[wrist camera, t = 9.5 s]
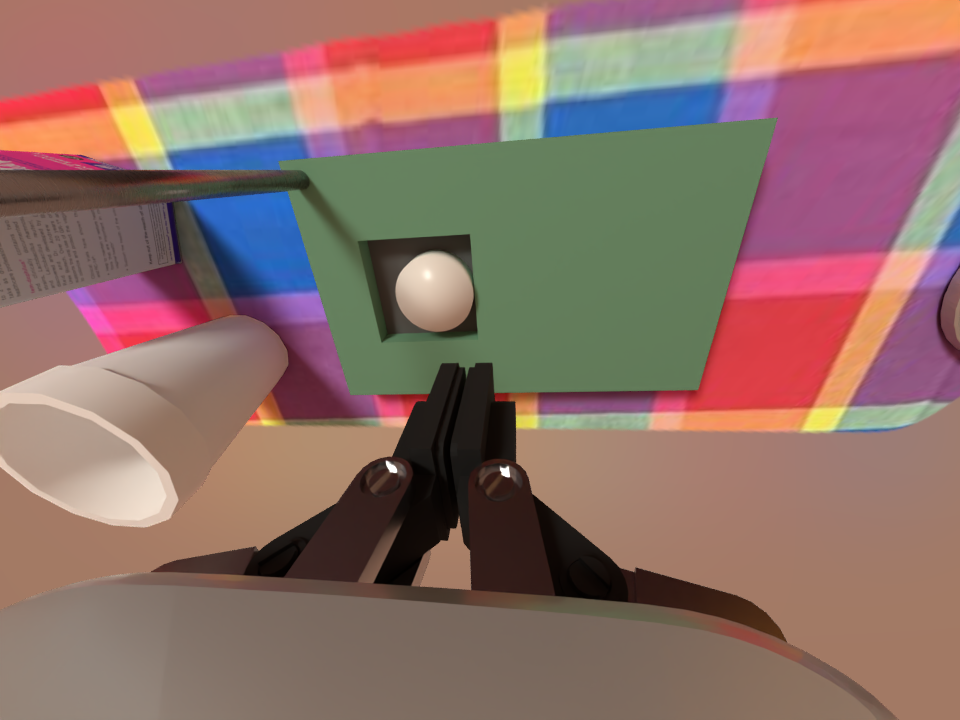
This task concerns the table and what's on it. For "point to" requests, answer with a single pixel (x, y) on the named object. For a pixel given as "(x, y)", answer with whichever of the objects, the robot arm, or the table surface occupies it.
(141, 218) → the supplement box
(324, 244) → the putting mat
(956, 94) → the table surface
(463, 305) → the cream rounded stone
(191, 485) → the foam cup
